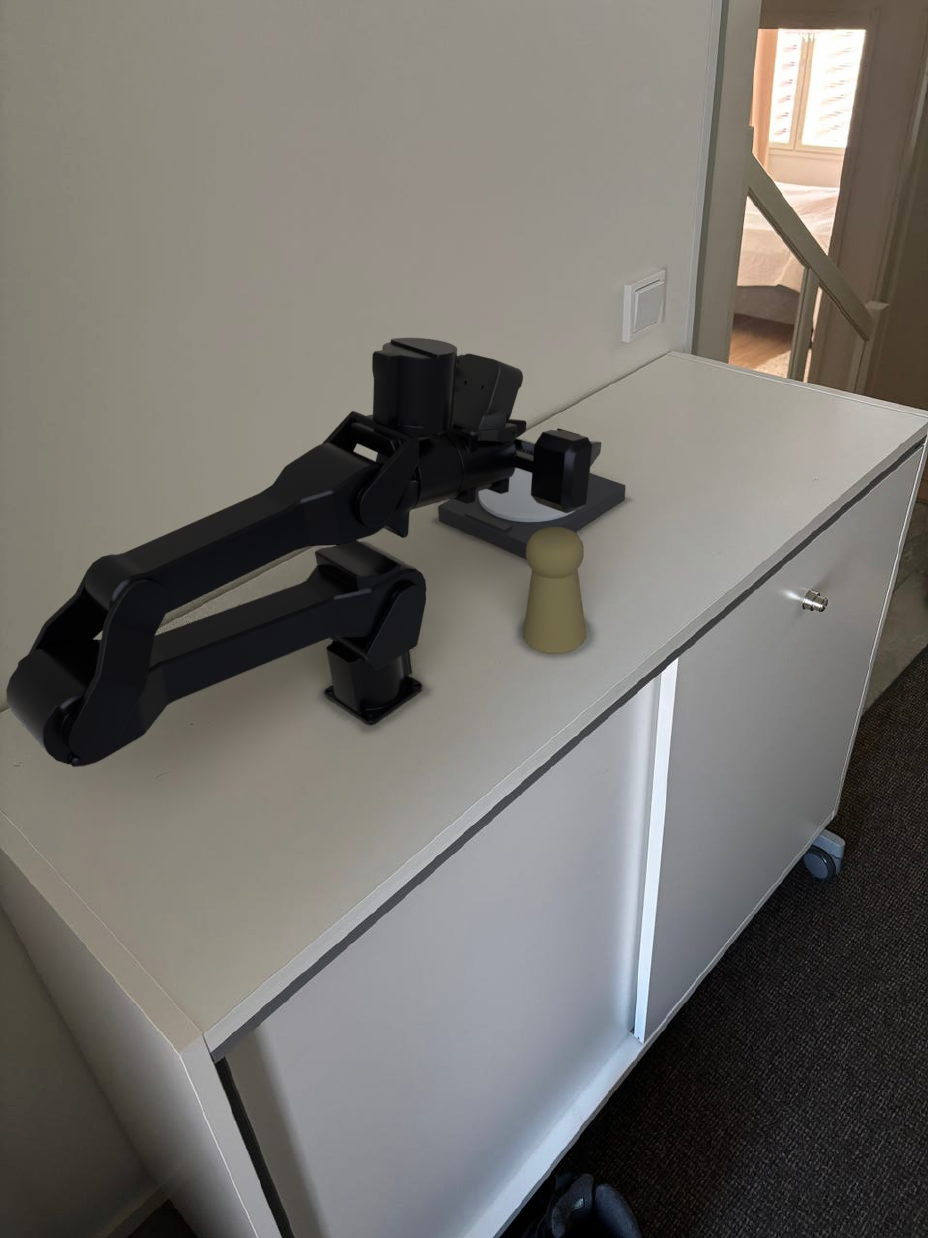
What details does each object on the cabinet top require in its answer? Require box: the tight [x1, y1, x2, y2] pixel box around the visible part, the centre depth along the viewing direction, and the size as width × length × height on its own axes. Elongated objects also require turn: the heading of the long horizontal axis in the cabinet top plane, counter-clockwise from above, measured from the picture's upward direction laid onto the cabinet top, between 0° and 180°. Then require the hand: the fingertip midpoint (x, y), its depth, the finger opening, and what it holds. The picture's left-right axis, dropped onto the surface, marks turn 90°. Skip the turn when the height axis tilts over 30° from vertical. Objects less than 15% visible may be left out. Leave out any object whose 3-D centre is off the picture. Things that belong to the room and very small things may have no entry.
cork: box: [522, 527, 587, 654], centre depth 85 cm, size 6×6×11 cm
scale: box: [437, 468, 626, 559], centre depth 107 cm, size 17×14×3 cm
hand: (561, 436), depth 87 cm, fingers open, 9 cm apart
